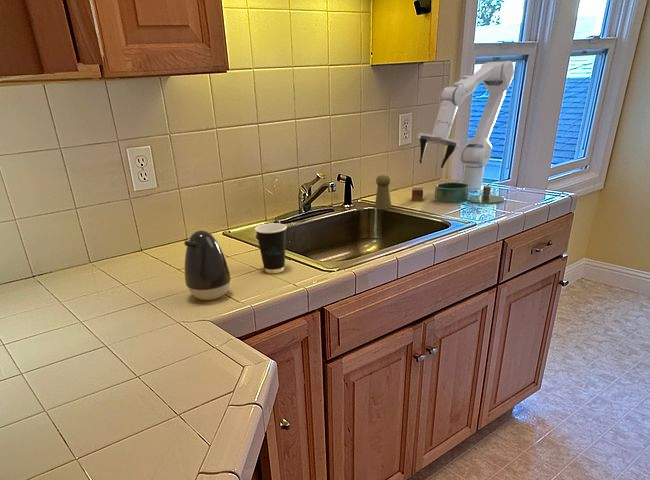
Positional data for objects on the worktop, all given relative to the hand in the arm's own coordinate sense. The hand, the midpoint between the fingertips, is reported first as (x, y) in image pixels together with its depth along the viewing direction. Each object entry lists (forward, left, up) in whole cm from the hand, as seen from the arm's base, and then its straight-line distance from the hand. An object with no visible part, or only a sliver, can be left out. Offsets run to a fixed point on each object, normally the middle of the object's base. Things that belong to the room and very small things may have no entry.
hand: (431, 165), depth 177 cm
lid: (-1, +20, -12) cm, 23 cm away
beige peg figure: (+9, -15, -13) cm, 22 cm away
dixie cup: (+77, -32, -13) cm, 85 cm away
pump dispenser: (+96, -41, -13) cm, 106 cm away
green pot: (-1, +8, -13) cm, 15 cm away
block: (-3, -4, -13) cm, 14 cm away
